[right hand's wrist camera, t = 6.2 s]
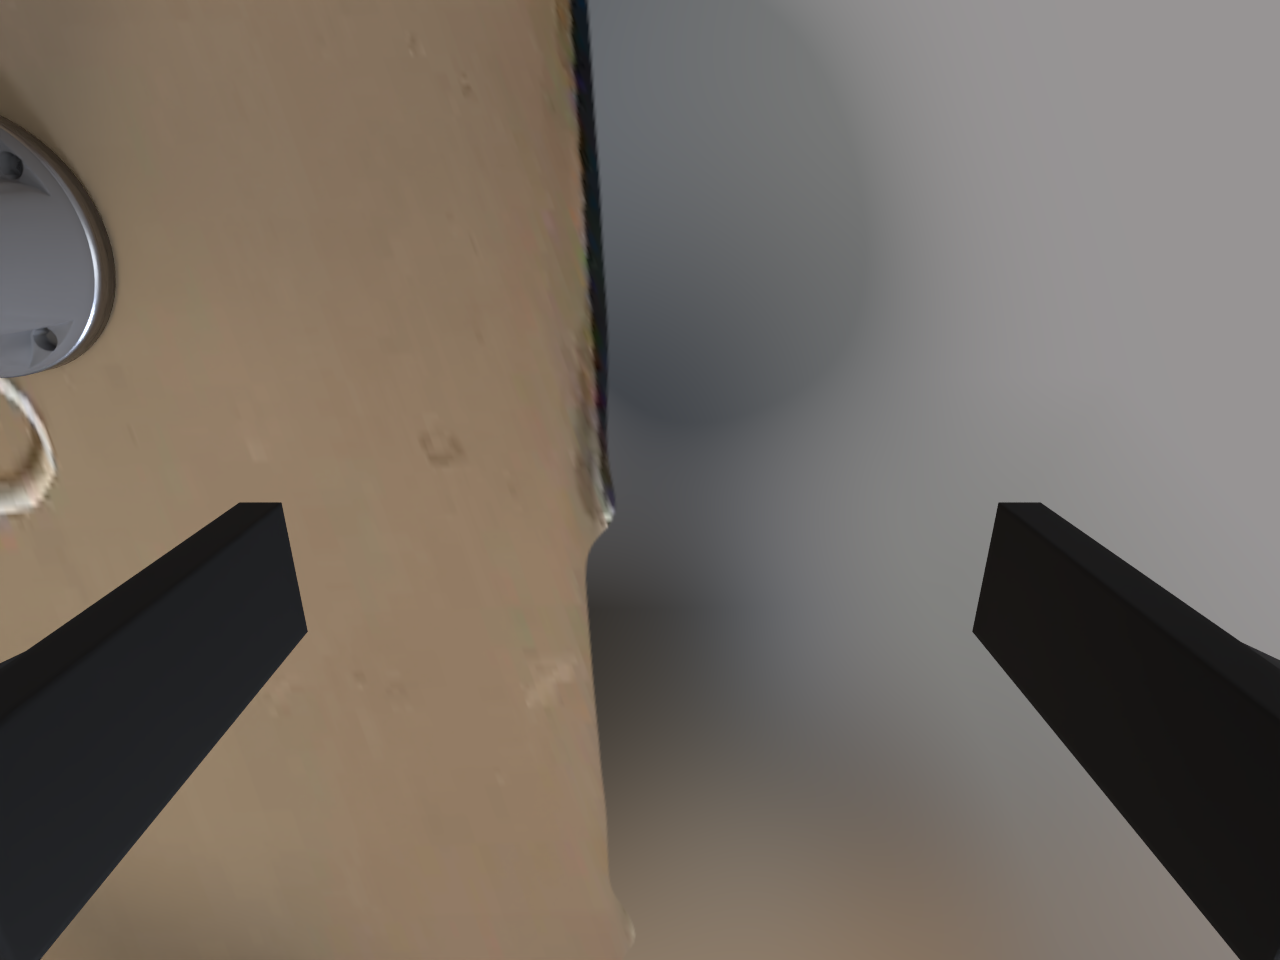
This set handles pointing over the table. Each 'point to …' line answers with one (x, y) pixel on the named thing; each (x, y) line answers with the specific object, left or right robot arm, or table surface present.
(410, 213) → the table surface
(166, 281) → the table surface
